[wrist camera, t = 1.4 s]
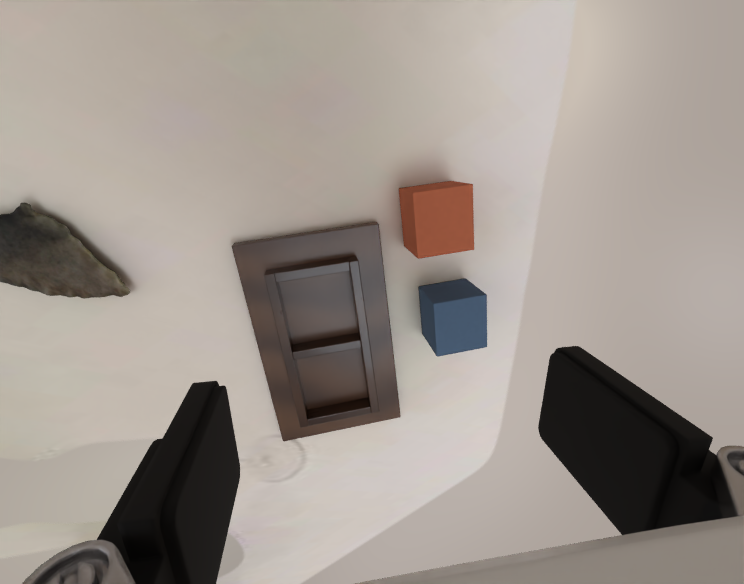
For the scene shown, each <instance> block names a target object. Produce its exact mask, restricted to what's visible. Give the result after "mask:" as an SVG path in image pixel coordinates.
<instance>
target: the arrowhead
mask: <svg viewBox="0 0 744 584" xmlns="http://www.w3.org/2000/svg"><path fill="white" fill-rule="evenodd" d="M0 282H4V283H8V284H11V285H14V286H18V287H25V288H27V289H29V290H32V291H39V292H41V293H44V294H46V295H50V296H55V295H62V296H67V297H76V296H78V297H81V298H90V297H106V296H110V295H115V296H119V297H122V296H125V295H128V294H129V293H130V291H129V289H128V288H127V287H126V286H125V284H124V282H122V281H121V280H120V278H119V277H118V275H117V274H116V273H115V272H114V271H113V270H110V269H108V268H107V267H106V266H105V265H103V264H102V263H101V262H100V261H99V260H98V259H97V258H95V257H94V255H93V254H92V252H91V251H90V250H88V249H87V248H85V247H84V246H83V244H82V243H81V241H80V240H79V239H77V238H75V237H74V236H72V235H71V233H70V231H69V229H68V228H67V227H66V226H65V225H64V224H60V223H58V222H57V221H55V220H54V219H53V218H52V217H50V216H46V215H43V214H40V213H37V212H35V211H34V210H32V208H31V205H30V204H27V203H21V204H20V206H19V207H18V208H16V210H15V211H14V212H13V213H10V214H2V215H0Z"/></svg>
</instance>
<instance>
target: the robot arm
mask: <svg viewBox="0 0 744 584" xmlns="http://www.w3.org/2000/svg"><path fill="white" fill-rule="evenodd" d="M539 433H540V436H541V438H542V440H543V441H544V442H545V443H546V444H547V446H548V447H549V448H550V449H551V450H552V452H553V453H554V454H555V455H556V456H557V458H558V459H559V460H560V461H561V462H562V464H563V465H564V466H565V467H566V468H567V470H568V471H569V472H570V473H571V474H572V476H573V477H574V478H575V479H576V480H577V482H578V483H579V484H580V485H581V486H582V487H583V489H584V490H585V491H586V492H587V493H588V495H589V496H590V497H591V498H592V499H593V500H594V502H595V503H596V504H597V505H598V507H599V508H600V509H601V510H602V511H603V512H604V514H605V515H606V516H607V517H608V519H609V520H610V521H611V522H612V523H613V524H614V526H615V527H616V528H617V529H618V530H619V532H621V534H622V535H620V536H614V537H609V538H603V539H597V540H591V541H585V542H580V543H574V544H569V545H563V546H558V547H552V548H546V549H540V550H535V551H529V552H524V553H519V554H513V555H508V556H502V557H496V558H490V559H485V560H479V561H474V562H468V563H463V564H457V565H452V566H447V567H441V568H436V569H430V570H425V571H419V572H414V573H409V574H403V575H399V576H393V577H387V578H382V579H377V580H371V581H366V582H361V583H355V584H744V447H742V446H725V447H722V448H721V449H720V450H719V451H718V452H717V455H715V454H714V453H712V452H711V451H710V450H709V447H710V444H711V442H712V439H713V438H712V437H711V436H709V435H708V434H707V433H705V432H704V431H702V430H701V429H699V428H698V427H696V426H695V425H693V424H692V423H691V422H689V421H688V420H686V419H685V418H683V417H682V416H680V415H679V414H677V413H676V412H674V411H673V410H671V409H670V408H668V407H667V406H666V405H664V404H663V403H661V402H660V401H658V400H657V399H655V398H654V397H652V396H651V395H649V394H648V393H646V392H645V391H644V390H642V389H641V388H639V387H638V386H636V385H635V384H633V383H632V382H630V381H629V380H627V379H626V378H624V377H623V376H622V375H620V374H619V373H617V372H616V371H614V370H613V369H611V368H610V367H608V366H607V365H605V364H604V363H603V362H601V361H600V360H598V359H597V358H595V357H594V356H592V355H591V354H589V353H588V352H586V351H585V350H584V349H582V348H580V347H578V346H572V347H562V348H558V349H556V351H555V352H554V353H553V354H552V355H551V356H550V360H549V366H548V372H547V378H546V384H545V390H544V396H543V402H542V408H541V414H540V420H539ZM239 479H240V463H239V458H238V452H237V446H236V441H235V435H234V429H233V423H232V418H231V412H230V406H229V400H228V395H227V390H226V387H225V386H219V384H218V382H217V381H210V382H200V383H193V384H192V385H191V387H190V389H189V391H188V393H187V395H186V396H185V398H184V400H183V402H182V404H181V406H180V408H179V409H178V411H177V413H176V415H175V417H174V419H173V420H172V422H171V424H170V426H169V428H168V430H167V432H166V433H165V435H164V437H163V439H157V440H155V441H154V442H153V443H152V445H151V446H150V447H149V449H148V451H147V453H146V454H145V456H144V458H143V460H142V462H141V463H140V465H139V467H138V468H137V470H136V472H135V474H134V475H133V477H132V479H131V481H130V482H129V484H128V486H127V488H126V490H125V491H124V493H123V495H122V497H121V498H120V500H119V502H118V504H117V505H116V507H115V509H114V510H113V512H112V514H111V516H110V517H109V519H108V521H107V523H106V524H105V526H104V528H103V530H102V531H101V533H100V535H99V537H98V539H97V540H91V541H86V542H83V543H79V544H76V545H73V546H71V547H69V548H67V549H66V550H64V551H61V552H59V553H58V554H56V555H54V556H53V557H52V558H50V559H49V560H47V561H46V562H45V563H43V564H42V565H40V567H38V568H37V569H36V570H35V571H34V572H33V573H32V574H31V575H30V576H29V577H28V578H27V579H26V580H25V581H24V582H23V584H216V581H217V576H218V572H219V568H220V563H221V558H222V554H223V550H224V546H225V541H226V537H227V532H228V528H229V524H230V519H231V515H232V510H233V506H234V501H235V497H236V493H237V488H238V484H239Z"/></svg>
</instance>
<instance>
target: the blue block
mask: <svg viewBox="0 0 744 584" xmlns="http://www.w3.org/2000/svg"><path fill="white" fill-rule="evenodd" d="M419 299H420V311H421V324H422V334H423V336H424V337H425V339H426V340H427V342H428V343H429V345H430V346H431V348H432V350H433V351H434V353H435V354H436V356H443V355H448V354H453V353H458V352H463V351H468V350H474V349H479V348H484V347H487V295H486V294H485V293H484V292H482V291H481V290H480V289H478V288H477V287H476V286H475V285H473V284H472V283H471V282H469V281H468V280H467V279H459V280H454V281H448V282H442V283H436V284H430V285H424V286H419Z"/></svg>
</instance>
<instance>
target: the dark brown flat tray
mask: <svg viewBox="0 0 744 584" xmlns="http://www.w3.org/2000/svg"><path fill="white" fill-rule="evenodd" d="M232 249H233V253H234V257H235V261H236V264H237V268H238V272H239V276H240V280H241V283H242V287H243V291H244V295H245V298H246V302H247V306H248V310H249V314H250V317H251V321H252V325H253V329H254V333H255V336H256V340H257V344H258V348H259V352H260V355H261V359H262V363H263V367H264V371H265V374H266V378H267V382H268V386H269V389H270V393H271V397H272V401H273V405H274V408H275V412H276V416H277V420H278V424H279V427H280V431H281V435H282V439H283V441H288V440H292V439H297V438H302V437H307V436H312V435H316V434H321V433H326V432H331V431H336V430H340V429H345V428H350V427H355V426H360V425H365V424H369V423H374V422H379V421H384V420H389V419H393V418H398V417H400V407H399V399H398V390H397V381H396V373H395V364H394V355H393V346H392V338H391V329H390V320H389V312H388V303H387V294H386V285H385V277H384V268H383V259H382V251H381V242H380V233H379V224H378V223H377V222H372V223H366V224H359V225H352V226H346V227H339V228H332V229H326V230H319V231H312V232H306V233H299V234H292V235H286V236H279V237H272V238H266V239H259V240H252V241H246V242H239V243H234V244H233V245H232Z"/></svg>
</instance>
